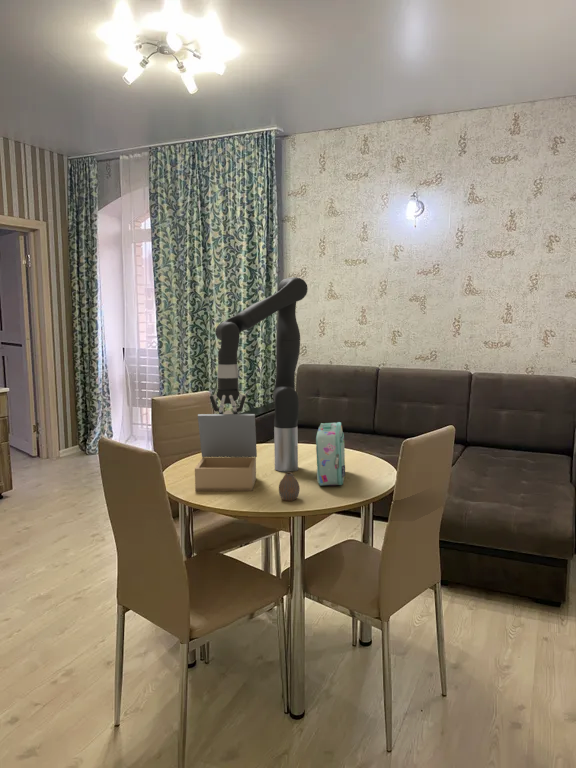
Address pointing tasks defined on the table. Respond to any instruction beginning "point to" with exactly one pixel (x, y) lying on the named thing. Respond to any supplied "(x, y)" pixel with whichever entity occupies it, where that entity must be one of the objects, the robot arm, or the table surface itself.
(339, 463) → the lunch box
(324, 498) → the table surface
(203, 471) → the mailer box
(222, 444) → the lid
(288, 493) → the vase
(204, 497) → the table surface
